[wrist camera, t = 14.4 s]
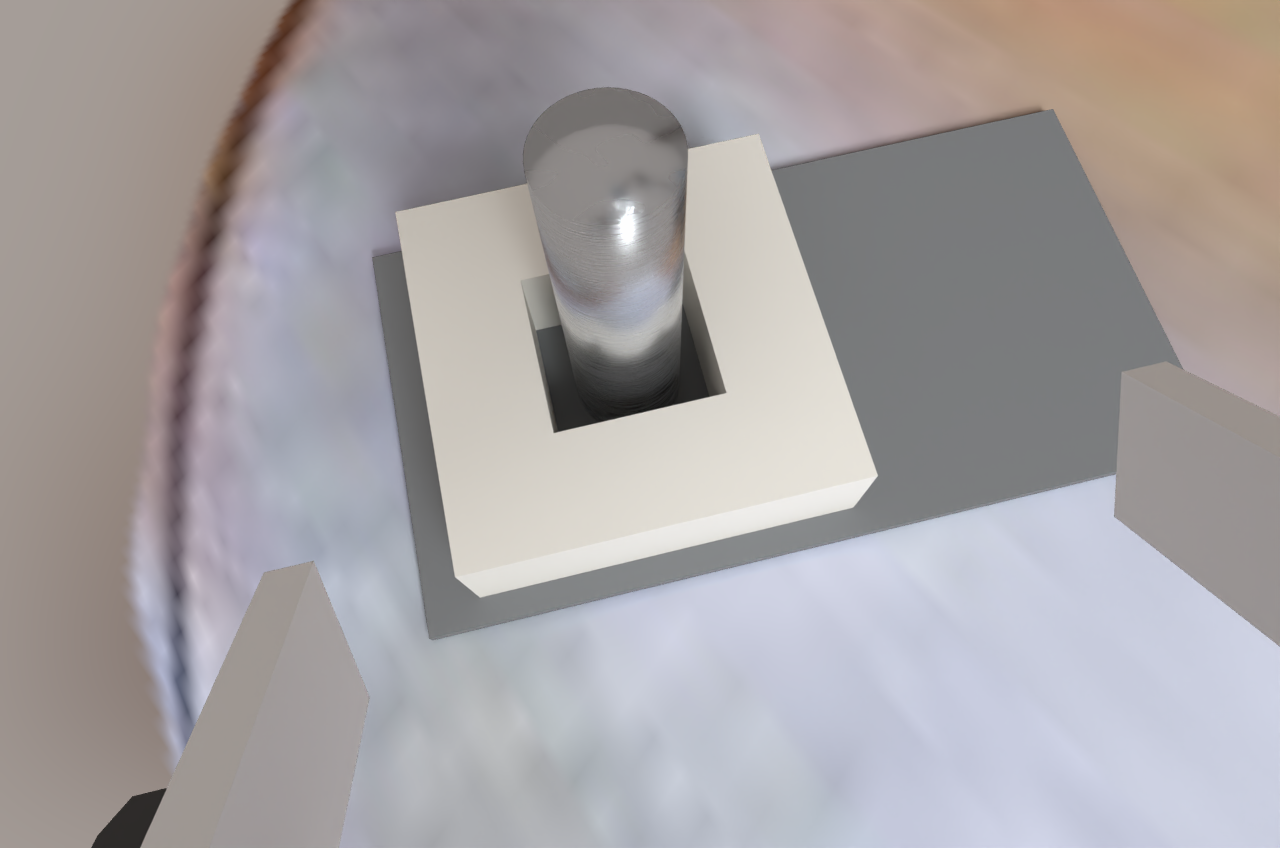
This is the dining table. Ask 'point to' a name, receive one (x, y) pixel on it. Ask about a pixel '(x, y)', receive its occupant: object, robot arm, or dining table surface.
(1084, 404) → the mat
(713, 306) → the hole block
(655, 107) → the pin
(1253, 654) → the dining table surface
